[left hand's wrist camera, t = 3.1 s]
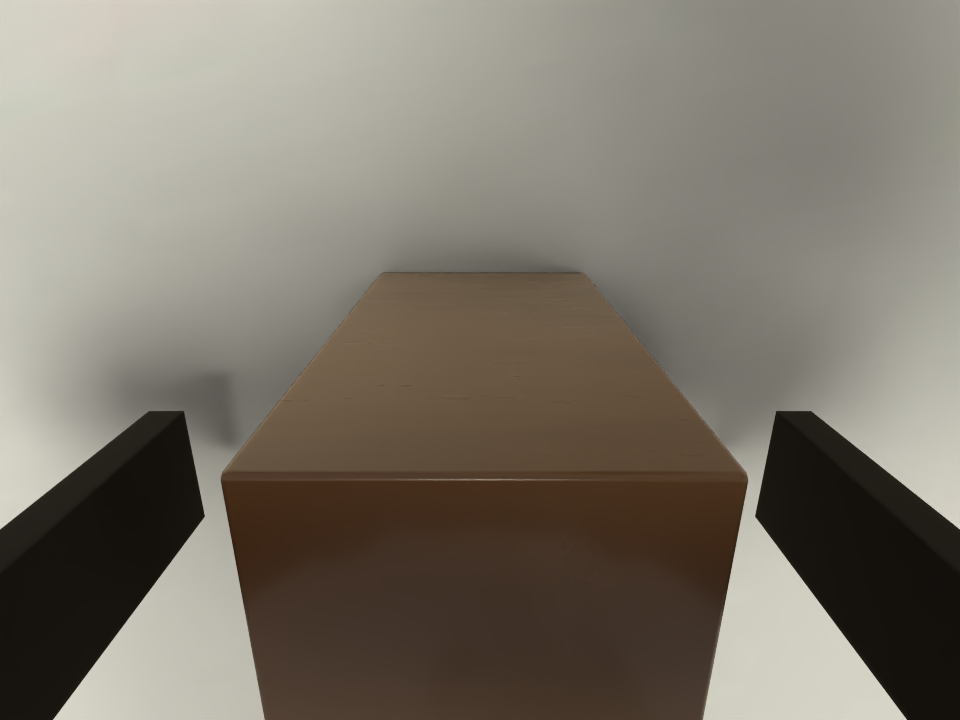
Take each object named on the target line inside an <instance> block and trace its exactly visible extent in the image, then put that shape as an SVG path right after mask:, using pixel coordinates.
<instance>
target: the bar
mask: <svg viewBox="0 0 960 720" xmlns="http://www.w3.org/2000/svg"><path fill="white" fill-rule="evenodd" d="M221 484H222V489H223V495H224V500H225V506H226V511H227V517H228V522H229V527H230V533H231V538H232V544H233V549H234V555H235V560H236V566H237V571H238V576H239V582H240V587H241V593H242V598H243V604H244V609H245V614H246V620H247V625H248V631H249V636H250V642H251V647H252V653H253V658H254V663H255V669H256V674H257V680H258V685H259V691H260V696H261V702H262V707H263V712H264V718H265V720H703V715H704V710H705V705H706V700H707V694H708V689H709V684H710V679H711V673H712V668H713V663H714V658H715V652H716V647H717V642H718V636H719V631H720V626H721V621H722V615H723V610H724V605H725V600H726V594H727V589H728V584H729V579H730V573H731V568H732V563H733V558H734V552H735V547H736V542H737V537H738V531H739V526H740V521H741V516H742V510H743V505H744V500H745V495H746V489H747V484H748V477H747V474H746V472H745V471H744V469H743V468H742V467H741V466H740V464H739V463H738V462H737V461H736V460H735V458H734V457H733V456H732V455H731V453H730V452H729V451H728V450H727V448H726V447H725V446H724V445H723V443H722V442H721V441H720V440H719V439H718V437H717V436H716V435H715V434H714V432H713V431H712V430H711V429H710V427H709V426H708V425H707V424H706V423H705V421H704V420H703V419H702V418H701V416H700V415H699V414H698V413H697V411H696V410H695V409H694V408H693V407H692V405H691V404H690V403H689V402H688V400H687V399H686V398H685V397H684V395H683V394H682V393H681V392H680V391H679V389H678V388H677V387H676V386H675V384H674V383H673V382H672V381H671V379H670V378H669V377H668V376H667V375H666V373H665V372H664V371H663V370H662V368H661V367H660V366H659V365H658V363H657V362H656V361H655V360H654V359H653V357H652V356H651V355H650V354H649V352H648V351H647V350H646V349H645V347H644V346H643V345H642V344H641V343H640V341H639V340H638V339H637V338H636V336H635V335H634V334H633V333H632V331H631V330H630V329H629V328H628V327H627V325H626V324H625V323H624V322H623V320H622V319H621V318H620V317H619V315H618V314H617V313H616V312H615V311H614V309H613V308H612V307H611V306H610V304H609V303H608V302H607V301H606V299H605V298H604V297H603V296H602V295H601V293H600V292H599V291H598V290H597V288H596V287H595V286H594V285H593V283H592V282H591V281H590V280H589V279H588V277H587V276H586V275H585V274H583V273H382V274H380V275H379V277H378V278H377V279H376V280H375V282H374V283H373V284H372V285H371V287H370V288H369V289H368V290H367V292H366V293H365V294H364V295H363V297H362V298H361V299H360V300H359V302H358V303H357V304H356V305H355V307H354V308H353V309H352V310H351V312H350V313H349V314H348V315H347V317H346V318H345V319H344V320H343V322H342V323H341V324H340V326H339V327H338V328H337V329H336V331H335V332H334V333H333V334H332V336H331V337H330V338H329V339H328V341H327V342H326V343H325V344H324V346H323V347H322V348H321V349H320V351H319V352H318V353H317V354H316V356H315V357H314V358H313V359H312V361H311V362H310V363H309V364H308V366H307V367H306V368H305V369H304V371H303V372H302V373H301V374H300V376H299V377H298V378H297V379H296V381H295V382H294V383H293V384H292V386H291V387H290V388H289V389H288V391H287V392H286V393H285V394H284V396H283V397H282V398H281V399H280V401H279V402H278V403H277V404H276V406H275V407H274V408H273V409H272V411H271V412H270V413H269V414H268V416H267V417H266V418H265V419H264V421H263V422H262V423H261V424H260V426H259V427H258V428H257V429H256V431H255V432H254V433H253V434H252V436H251V437H250V438H249V439H248V441H247V442H246V443H245V444H244V446H243V447H242V448H241V449H240V451H239V452H238V453H237V454H236V456H235V457H234V458H233V459H232V461H231V462H230V463H229V464H228V466H227V467H226V468H225V470H224V471H223V472H222V476H221Z"/></svg>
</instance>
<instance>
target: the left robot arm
mask: <svg viewBox="0 0 960 720" xmlns="http://www.w3.org/2000/svg"><path fill="white" fill-rule="evenodd" d="M204 517H205V515H204V510H203V505H202V500H201V495H200V490H199V485H198V480H197V475H196V470H195V465H194V460H193V455H192V450H191V445H190V440H189V435H188V430H187V425H186V420H185V415H184V411H149V412H147V413H146V414H145V415H144V416H142V417H141V418H140V419H139V420H137V421H136V422H135V423H134V424H132V425H131V426H130V427H129V428H127V429H126V430H125V431H124V432H122V433H121V434H120V435H119V436H117V437H116V438H115V439H113V440H112V441H111V442H110V443H108V444H107V445H106V446H105V447H103V448H102V449H101V450H100V451H98V452H97V453H96V454H95V455H93V456H92V457H91V458H90V459H88V460H87V461H86V462H85V463H83V464H82V465H81V466H80V467H78V468H77V469H76V470H75V471H73V472H72V473H71V474H69V475H68V476H67V477H66V478H64V479H63V480H62V481H61V482H59V483H58V484H57V485H56V486H54V487H53V488H52V489H51V490H49V491H48V492H47V493H46V494H44V495H43V496H42V497H41V498H39V499H38V500H37V501H36V502H34V503H33V504H32V505H31V506H29V507H28V508H27V509H25V510H24V511H23V512H22V513H20V514H19V515H18V516H17V517H15V518H14V519H13V520H12V521H10V522H9V523H8V524H7V525H5V526H4V527H3V528H2V529H0V720H53V719H54V718H55V716H56V715H57V714H58V712H59V711H60V710H61V708H62V707H63V706H64V704H65V703H66V702H67V700H68V699H69V698H70V696H71V695H72V694H73V692H74V691H75V689H76V688H77V687H78V685H79V684H80V683H81V681H82V680H83V679H84V677H85V676H86V675H87V673H88V672H89V671H90V669H91V668H92V667H93V665H94V664H95V663H96V661H97V660H98V659H99V657H100V656H101V655H102V653H103V652H104V651H105V649H106V648H107V647H108V645H109V644H110V643H111V641H112V640H113V639H114V637H115V636H116V635H117V633H118V632H119V631H120V629H121V628H122V627H123V625H124V624H125V623H126V621H127V620H128V619H129V617H130V616H131V615H132V613H133V612H134V611H135V609H136V608H137V607H138V605H139V604H140V602H141V601H142V600H143V598H144V597H145V596H146V594H147V593H148V592H149V590H150V589H151V588H152V586H153V585H154V584H155V582H156V581H157V580H158V578H159V577H160V576H161V574H162V573H163V572H164V570H165V569H166V568H167V566H168V565H169V564H170V562H171V561H172V560H173V558H174V557H175V556H176V554H177V553H178V552H179V550H180V549H181V548H182V546H183V545H184V544H185V542H186V541H187V540H188V538H189V537H190V536H191V534H192V533H193V532H194V530H195V529H196V528H197V526H198V525H199V524H200V522H201V521H202V519H203V518H204ZM755 517H756V518H757V519H758V521H759V522H760V523H761V525H762V526H763V527H764V529H765V530H766V532H767V533H768V534H769V536H770V537H771V538H772V540H773V541H774V542H775V544H776V545H777V546H778V548H779V549H780V550H781V552H782V553H783V554H784V556H785V557H786V558H787V560H788V561H789V562H790V564H791V565H792V566H793V568H794V569H795V570H796V572H797V573H798V574H799V576H800V577H801V578H802V580H803V581H804V582H805V584H806V585H807V586H808V588H809V589H810V590H811V592H812V593H813V594H814V596H815V597H816V598H817V600H818V601H819V602H820V604H821V605H822V606H823V608H824V609H825V610H826V612H827V613H828V615H829V616H830V617H831V619H832V620H833V621H834V623H835V624H836V625H837V627H838V628H839V629H840V631H841V632H842V633H843V635H844V636H845V637H846V639H847V640H848V641H849V643H850V644H851V645H852V647H853V648H854V649H855V651H856V652H857V653H858V655H859V656H860V657H861V659H862V660H863V661H864V663H865V664H866V665H867V667H868V668H869V669H870V671H871V672H872V673H873V675H874V676H875V677H876V679H877V680H878V681H879V683H880V684H881V685H882V687H883V688H884V689H885V691H886V692H887V693H888V695H889V696H890V698H891V699H892V700H893V702H894V703H895V704H896V706H897V707H898V708H899V710H900V711H901V712H902V714H903V715H904V716H905V718H906V719H907V720H960V529H958V528H957V527H956V526H955V525H953V524H952V523H951V522H950V521H948V520H947V519H946V518H945V517H943V516H942V515H941V514H940V513H938V512H937V511H936V510H935V509H933V508H932V507H931V506H930V505H928V504H927V503H926V502H924V501H923V500H922V499H921V498H919V497H918V496H917V495H916V494H914V493H913V492H912V491H911V490H909V489H908V488H907V487H906V486H904V485H903V484H902V483H901V482H899V481H898V480H897V479H896V478H894V477H893V476H892V475H891V474H889V473H888V472H887V471H886V470H884V469H883V468H882V467H880V466H879V465H878V464H877V463H875V462H874V461H873V460H872V459H870V458H869V457H868V456H867V455H865V454H864V453H863V452H862V451H860V450H859V449H858V448H857V447H855V446H854V445H853V444H852V443H850V442H849V441H848V440H847V439H845V438H844V437H843V436H841V435H840V434H839V433H838V432H836V431H835V430H834V429H833V428H831V427H830V426H829V425H828V424H826V423H825V422H824V421H823V420H821V419H820V418H819V417H818V416H816V415H815V414H814V413H813V412H811V411H776V415H775V420H774V425H773V430H772V435H771V440H770V445H769V450H768V455H767V460H766V465H765V470H764V475H763V480H762V485H761V490H760V495H759V500H758V505H757V510H756V515H755Z"/></svg>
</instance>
